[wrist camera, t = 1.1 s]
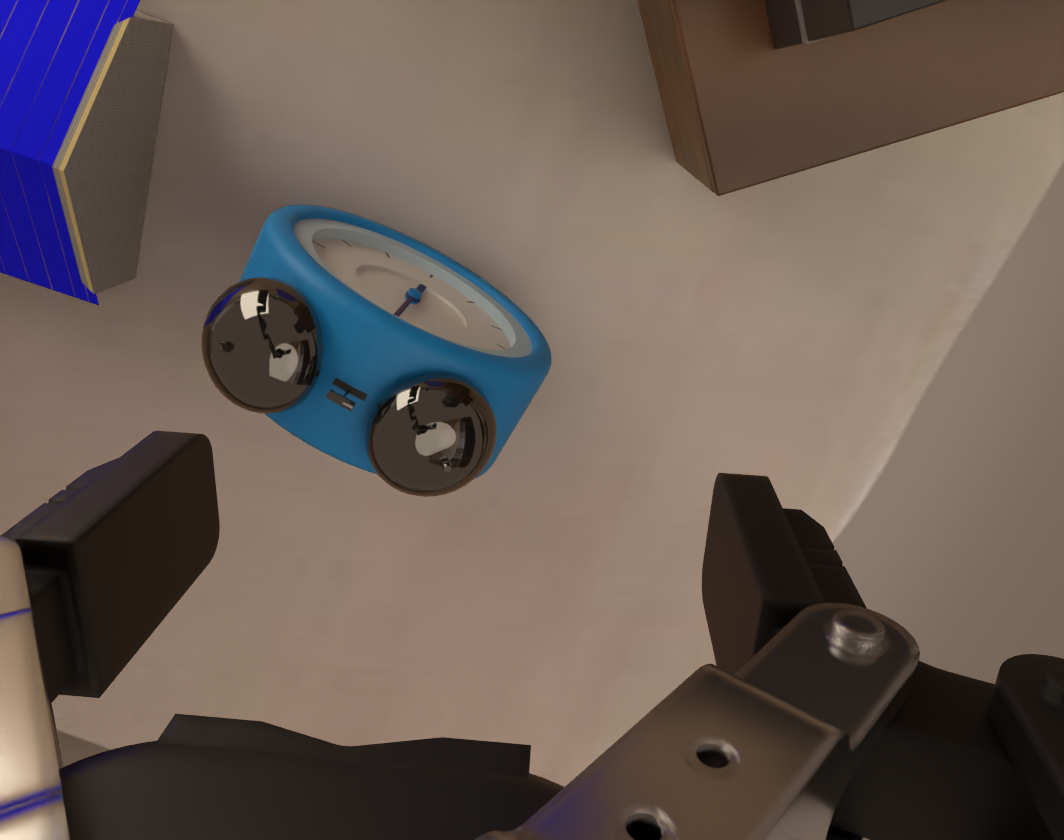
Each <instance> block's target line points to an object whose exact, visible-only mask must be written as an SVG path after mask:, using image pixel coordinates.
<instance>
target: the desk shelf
mask: <svg viewBox="0 0 1064 840" xmlns="http://www.w3.org/2000/svg"><path fill="white" fill-rule="evenodd" d="M638 4H639V9H640V13H641V17H642V21H643V25H644V29H645V33H646V38H647V42H648V46H649V50H650V54H651V58H652V63H653V67H654V71H655V75H656V79H657V83H658V87H659V92H660V96H661V100H662V104H663V108H664V112H665V117H666V121H667V125H668V129H669V133H670V137H671V141H672V146H673V150H674V154H675V158H676V161H677V163H679V164H680V165H681V166H682V167H683V168H685V169H686V170H687V171H688V172H689V173H691V174H692V175H693V176H694V177H695V178H697V179H698V180H699V181H700V182H702V183H703V184H704V185H705V186H706V187H708V188H709V189H710V190H711V191H712V192H714V193H715V194H716V195H717V196H721V195H724V194H727V193H731V192H734V191H737V190H741V189H744V188H747V187H750V186H754V185H757V184H760V183H764V182H767V181H770V180H774V179H777V178H780V177H784V176H787V175H790V174H794V173H797V172H800V171H804V170H807V169H810V168H814V167H817V166H820V165H823V164H827V163H830V162H833V161H837V160H840V159H843V158H847V157H850V156H853V155H857V154H860V153H863V152H867V151H870V150H873V149H877V148H880V147H883V146H887V145H890V144H893V143H897V142H900V141H903V140H906V139H910V138H913V137H916V136H920V135H923V134H926V133H930V132H933V131H936V130H940V129H943V128H946V127H950V126H953V125H956V124H960V123H963V122H966V121H970V120H973V119H976V118H979V117H983V116H986V115H989V114H993V113H996V112H999V111H1003V110H1006V109H1009V108H1013V107H1016V106H1019V105H1023V104H1026V103H1029V102H1033V101H1036V100H1039V99H1043V98H1046V97H1049V96H1052V95H1056V94H1059V93H1062V92H1064V0H947V1H944V2H941V3H938V4H935V5H932V6H929V7H926V8H923V9H920V10H917V11H914V12H911V13H907V14H904V15H901V16H898V17H895V18H892V19H889V20H886V21H883V22H880V23H877V24H874V25H871V26H868V27H865V28H861V29H858V30H855V31H851V32H847V33H843V34H839V35H836V36H832V37H829V38H826V39H823V40H820V41H817V42H814V43H811V44H808V45H803V43H802V44H798V45H794V46H790V47H786V48H781V49H777V50H776V49H775V48H774V44H773V39H772V34H771V29H770V24H769V19H768V14H767V8H766V3H765V0H638Z"/></svg>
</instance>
